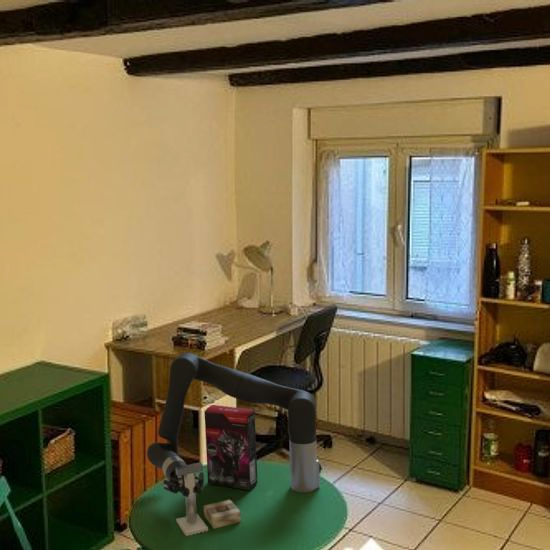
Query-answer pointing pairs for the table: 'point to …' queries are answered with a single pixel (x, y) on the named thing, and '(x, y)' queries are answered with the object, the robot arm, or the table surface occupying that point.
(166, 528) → the table surface
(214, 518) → the slot block
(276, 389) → the robot arm
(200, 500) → the table surface
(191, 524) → the beige flat plate
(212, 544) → the table surface
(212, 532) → the table surface
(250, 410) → the graphics card box
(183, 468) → the t key
